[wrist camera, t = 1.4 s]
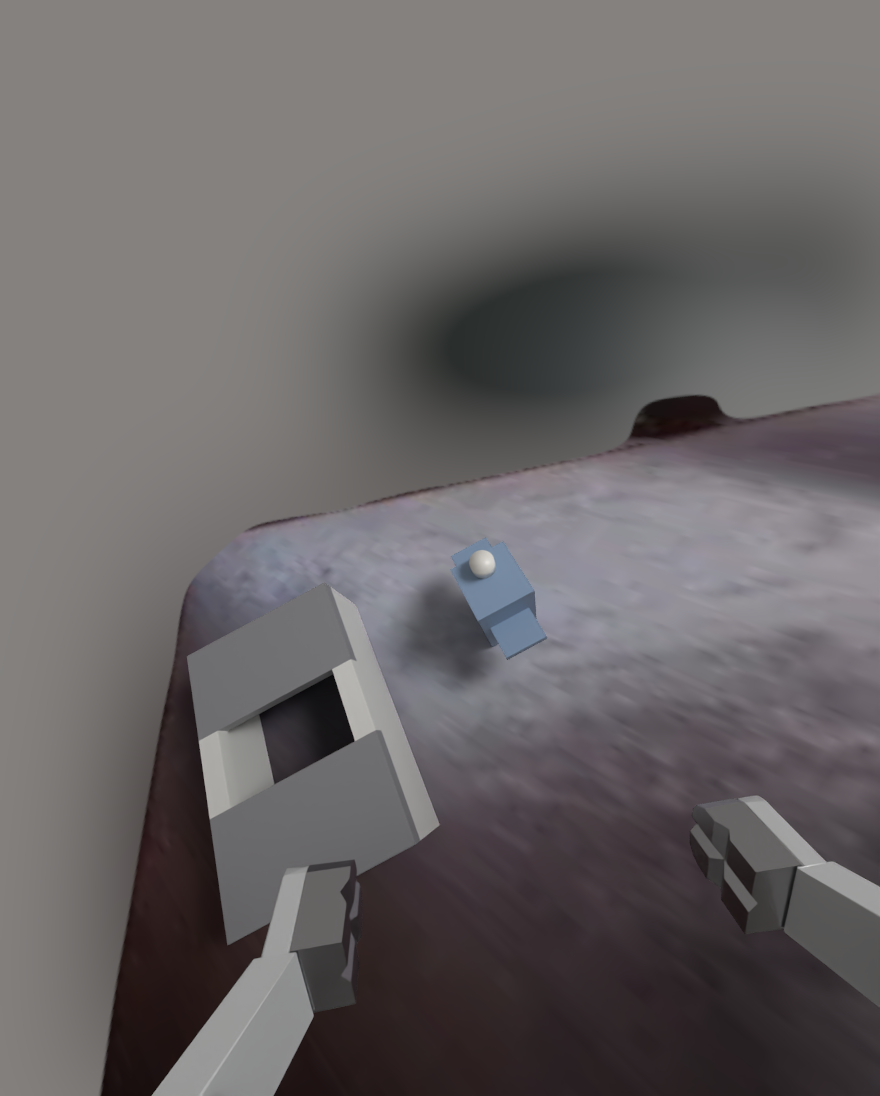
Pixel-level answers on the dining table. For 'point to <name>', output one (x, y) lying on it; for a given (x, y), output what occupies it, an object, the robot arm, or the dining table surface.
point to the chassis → (318, 790)
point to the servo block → (498, 596)
